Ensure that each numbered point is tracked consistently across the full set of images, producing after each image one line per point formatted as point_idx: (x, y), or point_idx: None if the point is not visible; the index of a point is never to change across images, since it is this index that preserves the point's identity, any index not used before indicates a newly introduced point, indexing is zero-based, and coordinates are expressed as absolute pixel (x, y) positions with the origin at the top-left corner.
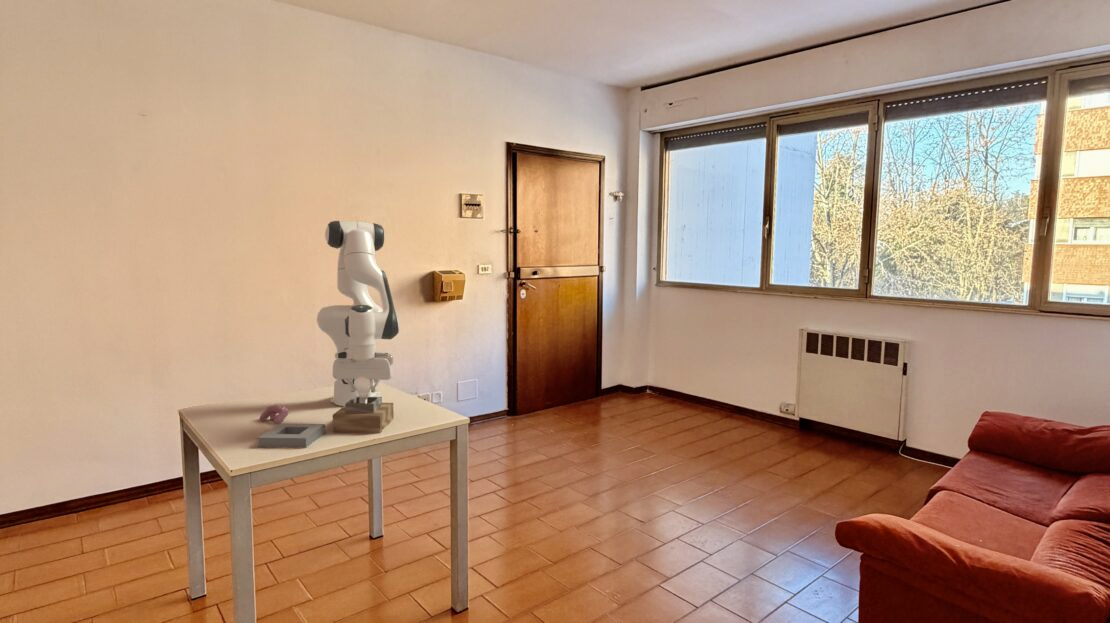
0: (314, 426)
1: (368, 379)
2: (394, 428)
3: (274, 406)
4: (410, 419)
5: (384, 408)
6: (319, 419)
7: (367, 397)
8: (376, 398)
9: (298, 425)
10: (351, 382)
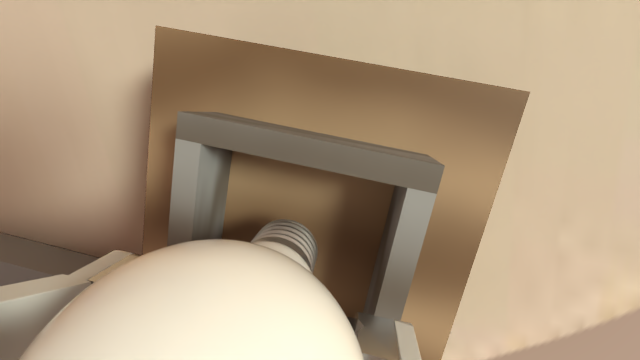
0: None
1: None
2: (478, 278)
3: None
4: (586, 123)
5: (450, 256)
6: (71, 53)
7: (302, 164)
8: (390, 181)
9: None
10: (4, 329)
